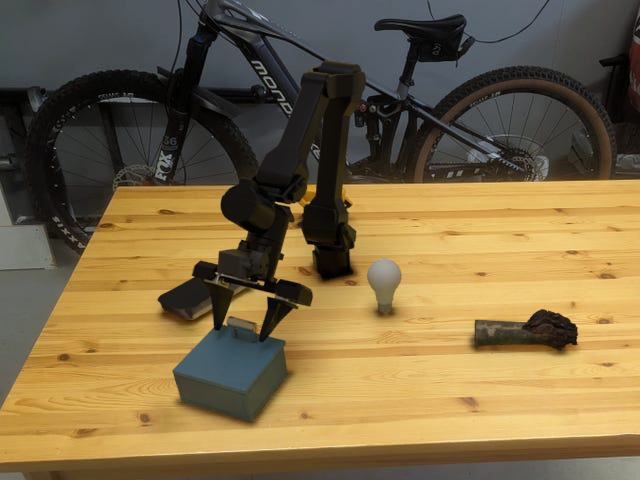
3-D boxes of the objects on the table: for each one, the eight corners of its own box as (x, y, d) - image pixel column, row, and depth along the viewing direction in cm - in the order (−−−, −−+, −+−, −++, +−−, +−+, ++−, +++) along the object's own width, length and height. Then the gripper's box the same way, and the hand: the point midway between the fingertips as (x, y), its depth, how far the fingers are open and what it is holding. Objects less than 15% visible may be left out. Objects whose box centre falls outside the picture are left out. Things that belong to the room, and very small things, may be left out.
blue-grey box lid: (218, 326, 109) (213, 304, 106) (286, 344, 106) (283, 321, 103) (173, 374, 100) (166, 351, 97) (245, 394, 97) (240, 371, 94)
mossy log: (474, 351, 115) (476, 325, 111) (473, 327, 120) (475, 302, 116) (576, 355, 114) (582, 329, 110) (571, 331, 119) (576, 306, 116)
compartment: (221, 356, 113) (215, 329, 109) (288, 374, 109) (284, 347, 106) (181, 401, 104) (173, 374, 100) (251, 422, 101) (245, 395, 97)
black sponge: (187, 329, 118) (183, 312, 116) (157, 311, 122) (153, 295, 119) (256, 287, 128) (253, 271, 126) (226, 272, 132) (223, 256, 130)
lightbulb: (405, 305, 124) (406, 255, 117) (394, 324, 120) (394, 274, 113) (375, 299, 126) (374, 249, 119) (363, 317, 121) (361, 267, 114)
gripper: (185, 214, 99) (157, 315, 98) (297, 238, 95) (268, 344, 94) (223, 235, 110) (198, 325, 109) (325, 257, 105) (299, 352, 104)
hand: (238, 336), depth 104 cm, fingers open, 8 cm apart
